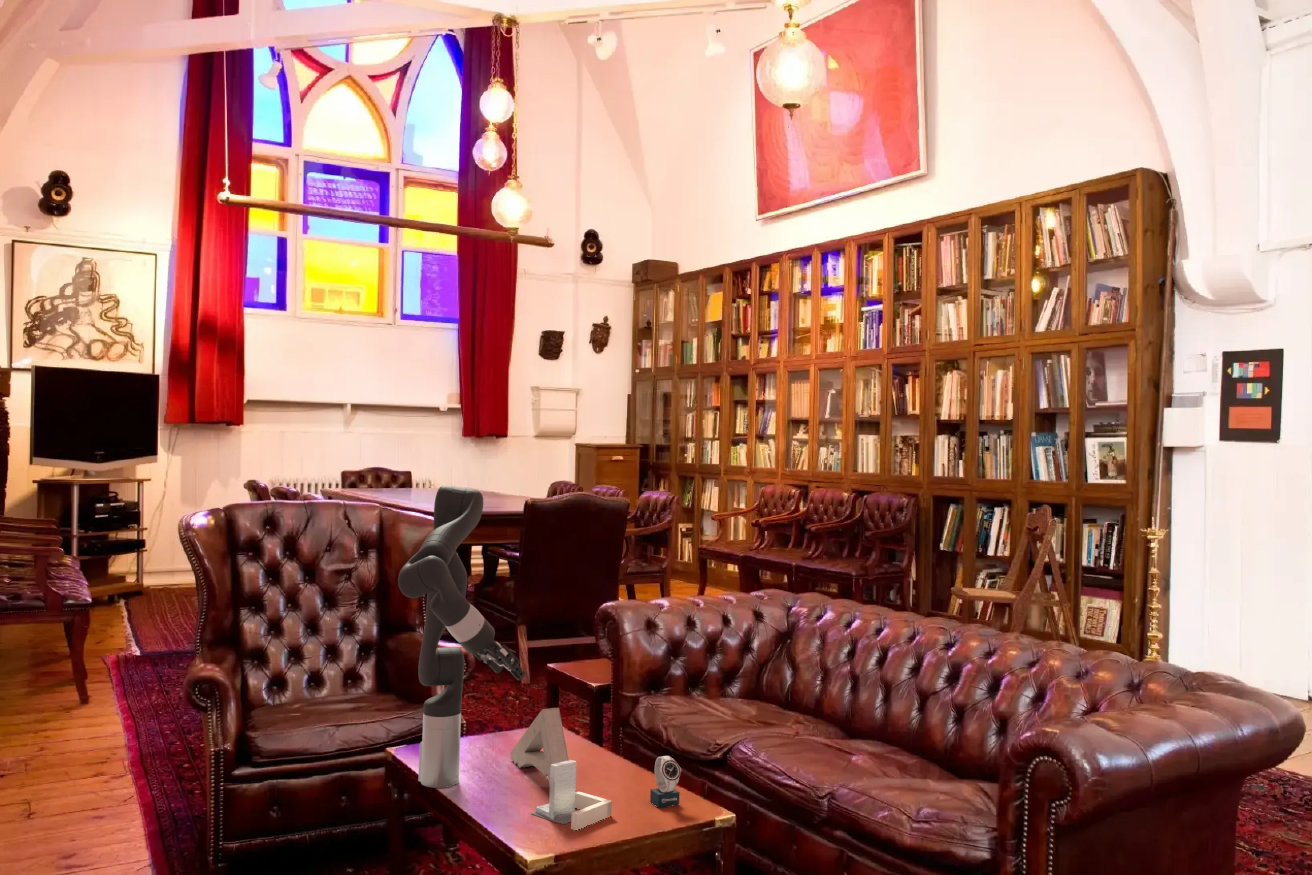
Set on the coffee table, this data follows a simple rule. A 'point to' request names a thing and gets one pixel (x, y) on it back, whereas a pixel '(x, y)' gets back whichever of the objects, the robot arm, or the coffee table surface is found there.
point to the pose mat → (562, 820)
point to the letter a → (542, 743)
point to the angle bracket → (560, 791)
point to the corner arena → (589, 810)
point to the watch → (665, 782)
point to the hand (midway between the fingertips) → (511, 673)
